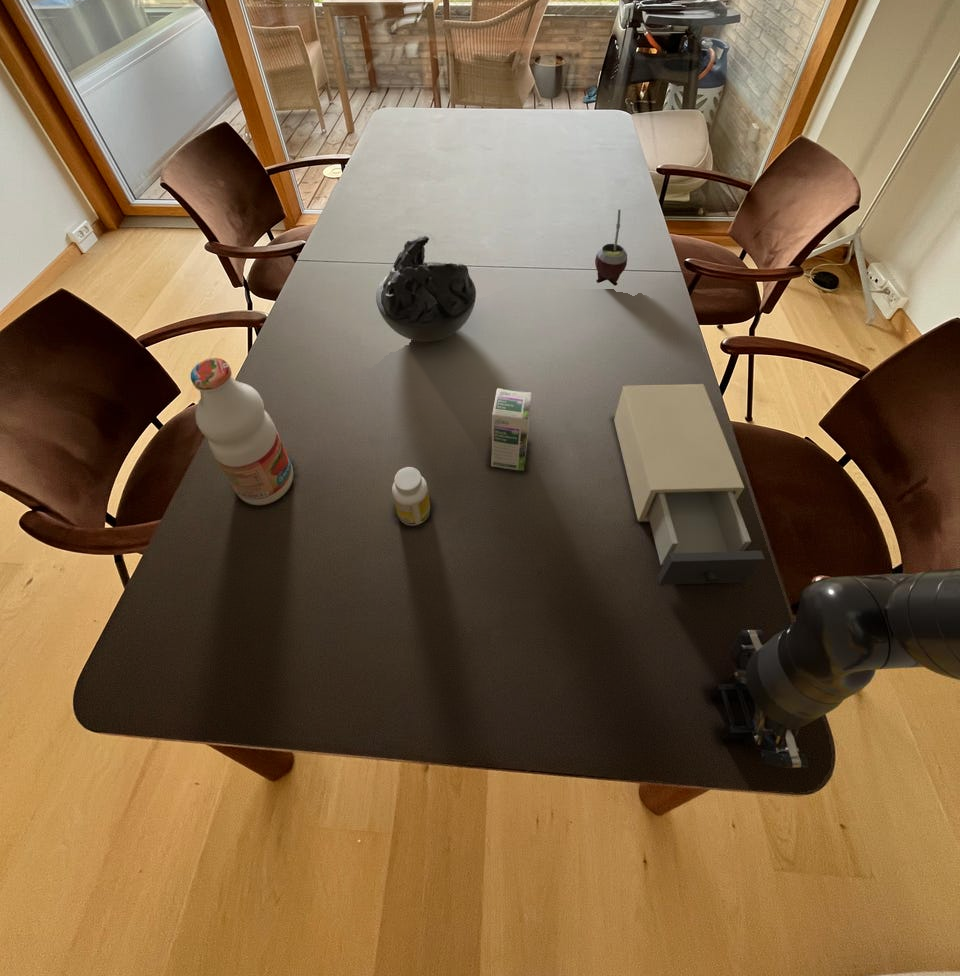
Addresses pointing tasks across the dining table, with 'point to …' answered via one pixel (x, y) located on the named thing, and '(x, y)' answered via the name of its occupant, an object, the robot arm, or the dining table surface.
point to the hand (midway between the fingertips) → (743, 713)
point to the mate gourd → (611, 260)
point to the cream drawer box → (672, 443)
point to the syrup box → (510, 428)
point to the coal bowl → (425, 295)
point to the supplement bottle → (411, 496)
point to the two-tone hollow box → (701, 538)
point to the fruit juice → (241, 434)
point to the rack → (730, 691)
